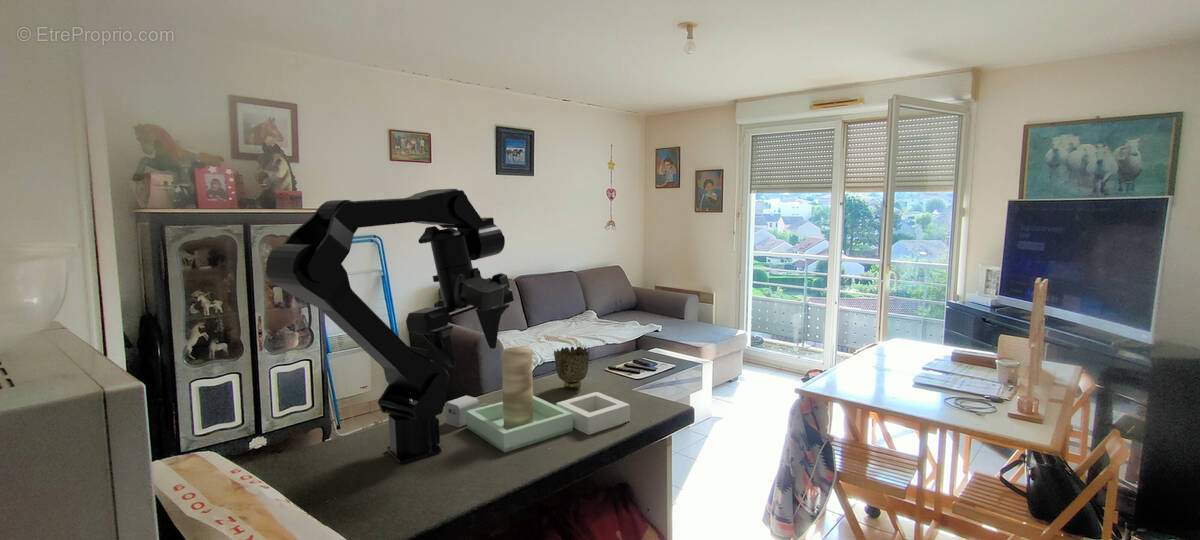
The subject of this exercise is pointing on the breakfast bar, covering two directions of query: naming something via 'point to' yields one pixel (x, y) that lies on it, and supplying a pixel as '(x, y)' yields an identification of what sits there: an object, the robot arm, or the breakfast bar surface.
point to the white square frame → (596, 412)
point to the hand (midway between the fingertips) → (473, 357)
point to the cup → (572, 366)
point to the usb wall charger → (460, 410)
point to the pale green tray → (544, 426)
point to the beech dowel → (517, 387)
